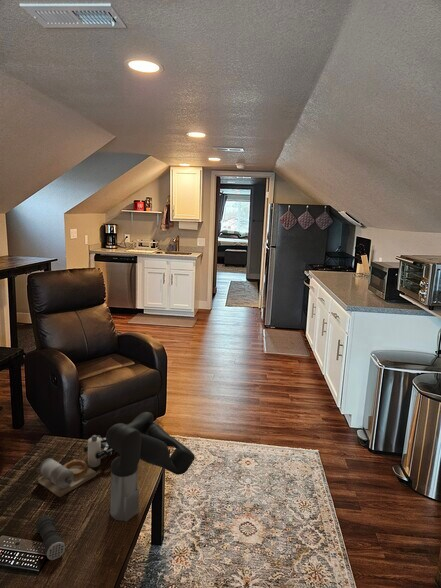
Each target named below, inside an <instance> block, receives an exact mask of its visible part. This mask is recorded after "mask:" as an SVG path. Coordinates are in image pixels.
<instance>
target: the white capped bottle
mask: <svg viewBox="0 0 441 588" xmlns="http://www.w3.org/2000/svg"><path fill="white" fill-rule="evenodd" d="M97 436H98V435H97V434H93V435H91V437H90V438H88V439H87V445H88V451H87V463H88V467H89V468H96V467H99V466H100V465H101V458H102V457H100V458H98V459H96V453H98V452H100V451H102V448H101V439H100V438H99V437H97Z"/></svg>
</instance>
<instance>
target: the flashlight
mask: <svg viewBox="0 0 441 588" xmlns="http://www.w3.org/2000/svg"><path fill="white" fill-rule="evenodd" d="M35 523H36V524H35V528H36V531H37V532H38V534H39V535H40V537H41V538H42V545H43V547H44V552H45V555H46V557H47V559H48V560H50V561H54V560H56V559H58V558H60V557H62V555H63V554H64V553H65V551H66V545H65V543H64V541H63V539H62V537H61V536H60V534H59V533H58V532H57V530H56V527H55V523H54V520H53V518H52V517H51V516H50V515H49V514H44V515H42V516H40V517H39V518H38V519H37V521H36V522H35Z"/></svg>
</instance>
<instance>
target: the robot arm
mask: <svg viewBox="0 0 441 588" xmlns="http://www.w3.org/2000/svg"><path fill="white" fill-rule="evenodd" d="M97 437H99V438H100V439H101V451H100V452H98V453H96V459H98V458H100V457H101V458H102V457H103V456H107V457H111V456H114V455H115V454H117V453H119V454H120V455H119V456H116V457H115V458H113V460H112V461H111V464H110V501H109V502H110V505H109V506H110V512H109V513H110V516H111V518H112V519H114V520H115V521H120V522H121V521H122V522H123V521H124V522H128V521H130V519H132V518H133V517H134V516H137V514H138V513H139V508H140V507H139V506H140V505H139V503H140V497H139V496H140V490H139V488H138V471H139V470H138V469H139V468H138V467H139V466H138V465H139V464H140V461H143V462H145V463H147V464H151V465H153V466H156V467H159V468H162V469H164V470H166V471H168V472H170V473H172V474H174V475H176V476H180V475H183V474H184V473H186V472H187V471H188V470H189V469H190V467H191V465H192V464H193V463H194V461H195V459H196V456H195V454H194V453H193V451H192V450H191V449H189V448H188V447H187V446H185V445H184V444H183V443H181V442H180V441H179V440H177V439H175V437H173V436H172V435H170V434H169V433H168V432H167V431H165V430H164V429H163V428H162V426H160V425H159V424H157V423H154V415H153V413H152V412H149V411H144V412H141V413H139V414H138V415H137V416H136V417H135V418H134V419H133V420H132V421H131V422H130V423H126V424H125V423H122V422H119V423H115V424H113V425H112V426H110V428H108V430H107V432H106V435H105V436H104V437H101V435H100V434H99V435H97ZM170 447H171V448H174V451H173V452H172V454H171V455H170V449H169V448H170ZM83 452H84V453H86V452H87V453H88V444H86V445H85V446H84V447H83Z"/></svg>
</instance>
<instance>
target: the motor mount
mask: <svg viewBox="0 0 441 588" xmlns="http://www.w3.org/2000/svg"><path fill="white" fill-rule="evenodd" d="M38 473H39V475H40V477H38V478H37V483H38V484H40V485H41V486H43V487H44V488H46V489H47V490H48V491H50V492H51V493H53V494H54V495H56V496H57V497H58V498H62V497H63V496H65V495H66V494H68V493H69V492H71V491H72V490H74V489H76V488H78V487H80V486H82V485H83V484H85V483H86V482H88V481H90V480H91V479H93V478H95V477H96V476H97V471H95V470H94V469H92V467H89V466H88V462H86V461H85V460H83V459H75V458H74V459H73V460H70V461H68V462H66V463H64V464H63V465H62V464H61V463H59V461H56V460H55V459H54V458H52V457H48V458H46V459H44V460H43V461H42V462H41V464H40V465H39V468H38Z"/></svg>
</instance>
